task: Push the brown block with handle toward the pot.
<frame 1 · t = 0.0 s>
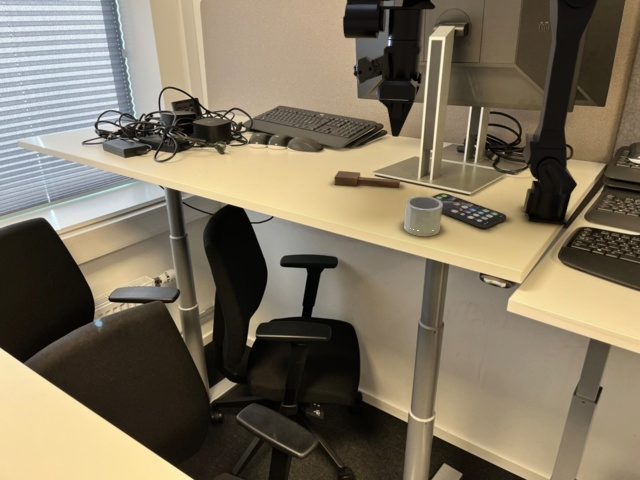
hand: (398, 129, 87), 15 cm above the table, tool pointing down, fingers open, 9 cm apart
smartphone: (461, 211, 90), on the table
brown block with handle: (367, 183, 103), on the table
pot: (421, 228, 83), on the table
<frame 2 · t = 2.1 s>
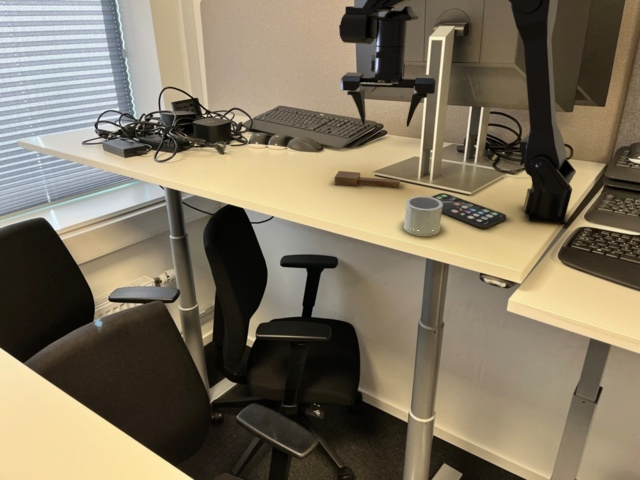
hand: (385, 125, 99), 13 cm above the table, tool pointing down, fingers open, 9 cm apart
nothing on the table moved.
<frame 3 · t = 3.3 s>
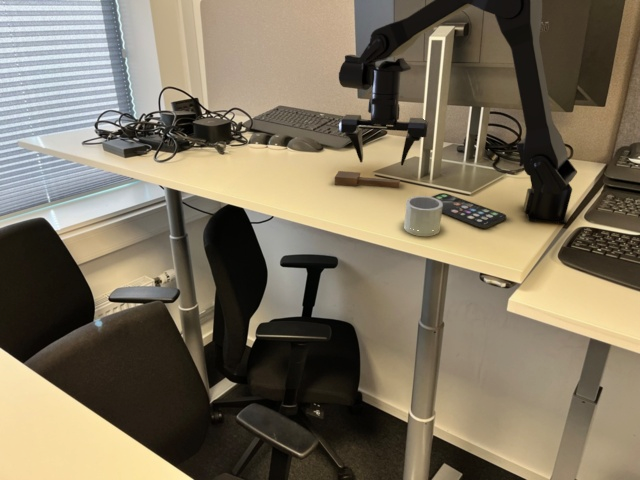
hand: (381, 163, 105), 3 cm above the table, tool pointing down, fingers open, 9 cm apart
nothing on the table moved.
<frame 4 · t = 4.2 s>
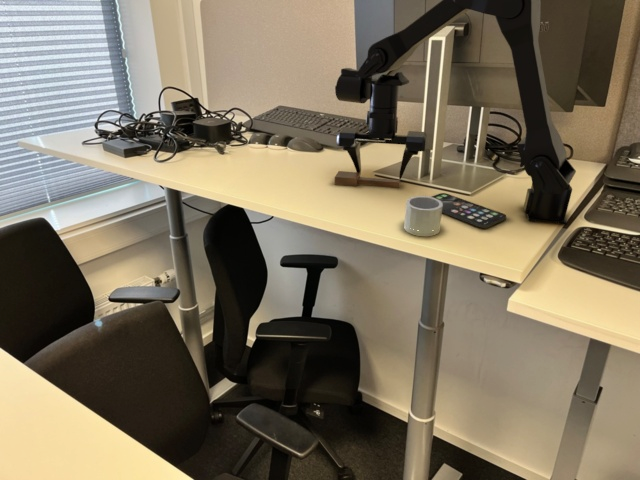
hand: (379, 176, 105), 1 cm above the table, tool pointing down, fingers open, 9 cm apart
brown block with handle: (367, 183, 103), on the table, touching gripper
everything else where it was.
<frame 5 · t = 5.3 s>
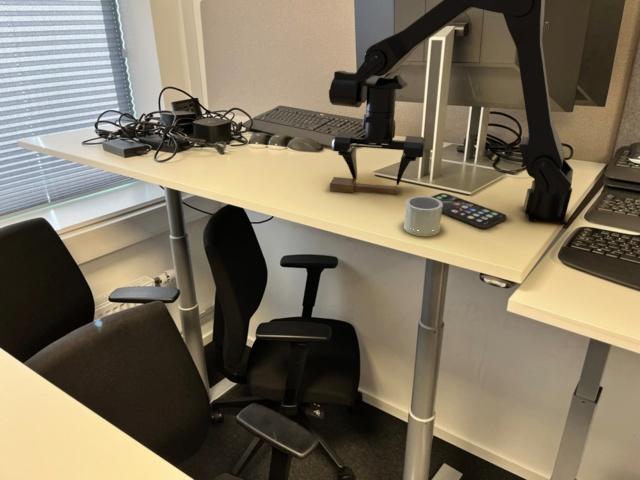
hand: (376, 182, 101), 1 cm above the table, tool pointing down, fingers open, 9 cm apart
brown block with handle: (363, 190, 100), on the table, touching gripper
everything else where it was.
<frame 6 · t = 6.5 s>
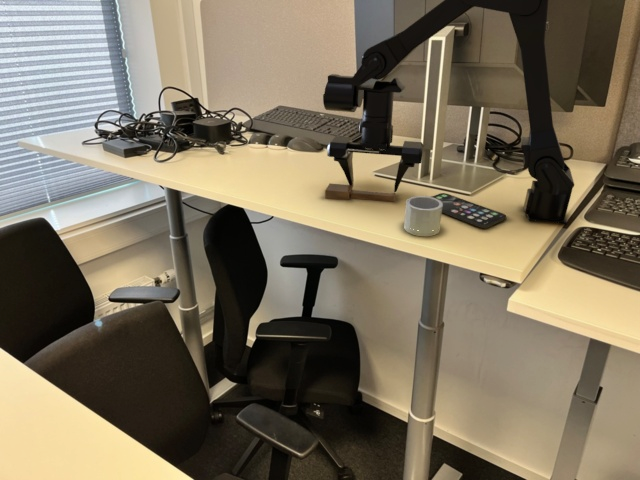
hand: (373, 189, 98), 1 cm above the table, tool pointing down, fingers open, 9 cm apart
brown block with handle: (360, 197, 96), on the table, touching gripper
everything else where it was.
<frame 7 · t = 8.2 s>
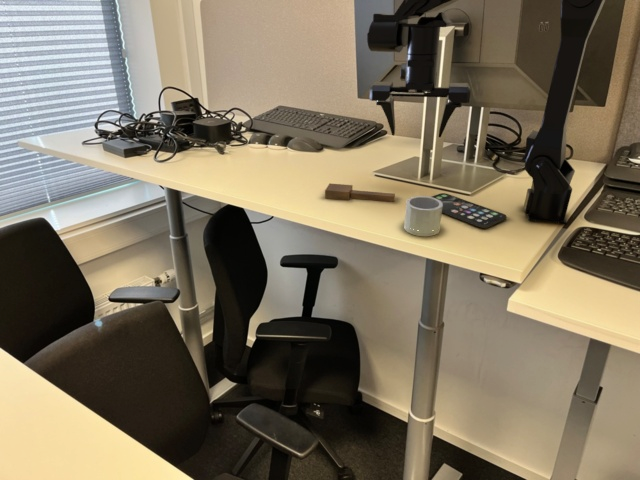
hand: (416, 135, 94), 12 cm above the table, tool pointing down, fingers open, 9 cm apart
brown block with handle: (360, 197, 96), on the table
everything else where it was.
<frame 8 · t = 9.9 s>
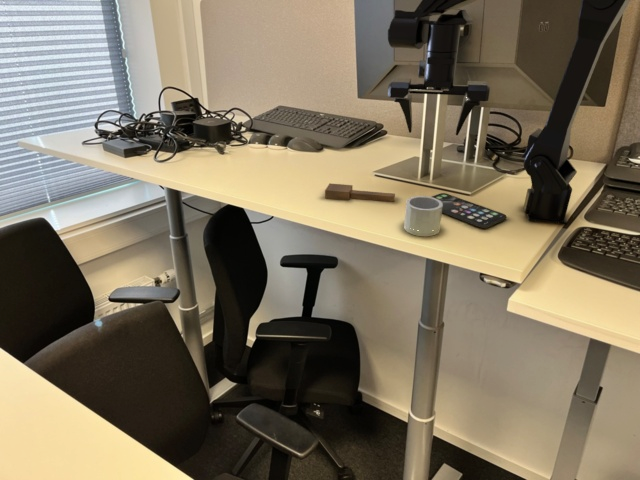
hand: (433, 133, 94), 12 cm above the table, tool pointing down, fingers open, 9 cm apart
nothing on the table moved.
at the end: brown block with handle 17.6 cm from the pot (horizontally); brown block with handle moved 8.0 cm from its start; the gripper is holding nothing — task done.
